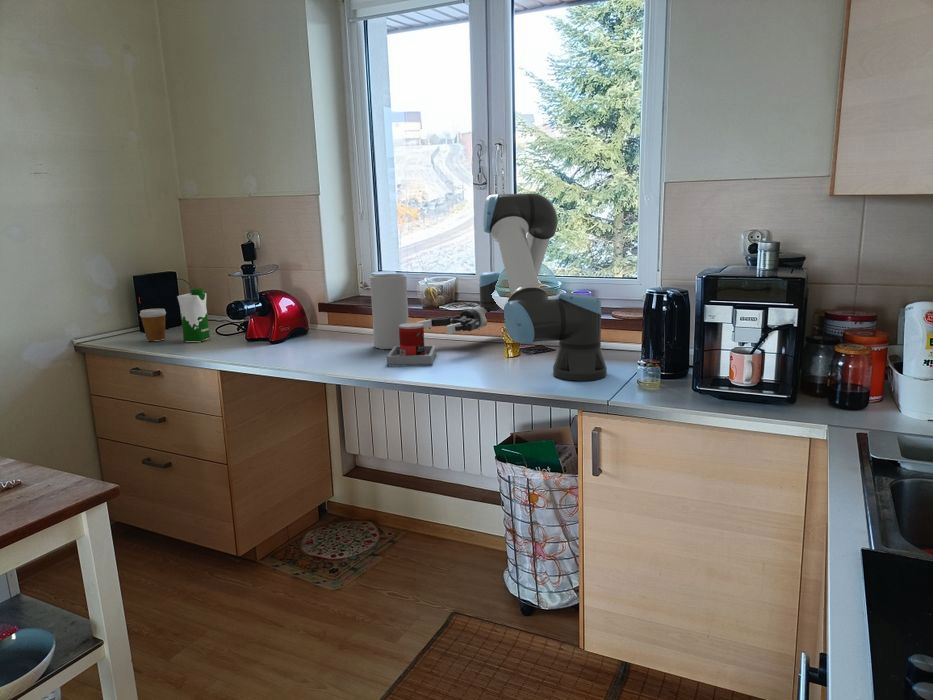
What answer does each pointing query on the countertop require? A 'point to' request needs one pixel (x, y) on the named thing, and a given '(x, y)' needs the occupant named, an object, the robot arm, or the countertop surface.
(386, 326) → the cylinder vase
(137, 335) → the countertop surface
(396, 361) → the box
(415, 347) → the canned food
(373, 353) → the countertop surface
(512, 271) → the robot arm
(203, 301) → the milk carton
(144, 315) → the disposable coffee cup
